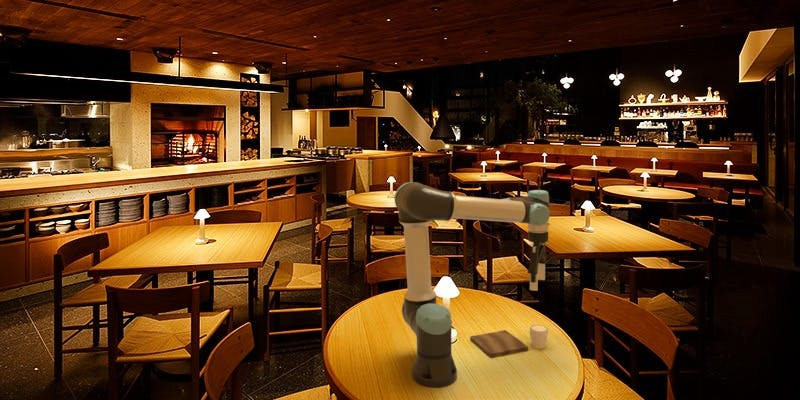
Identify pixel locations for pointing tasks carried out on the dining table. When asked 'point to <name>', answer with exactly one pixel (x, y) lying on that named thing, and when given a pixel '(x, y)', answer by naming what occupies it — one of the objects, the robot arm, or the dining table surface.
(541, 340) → the beige cylinder
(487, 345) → the serving board
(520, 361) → the dining table surface
